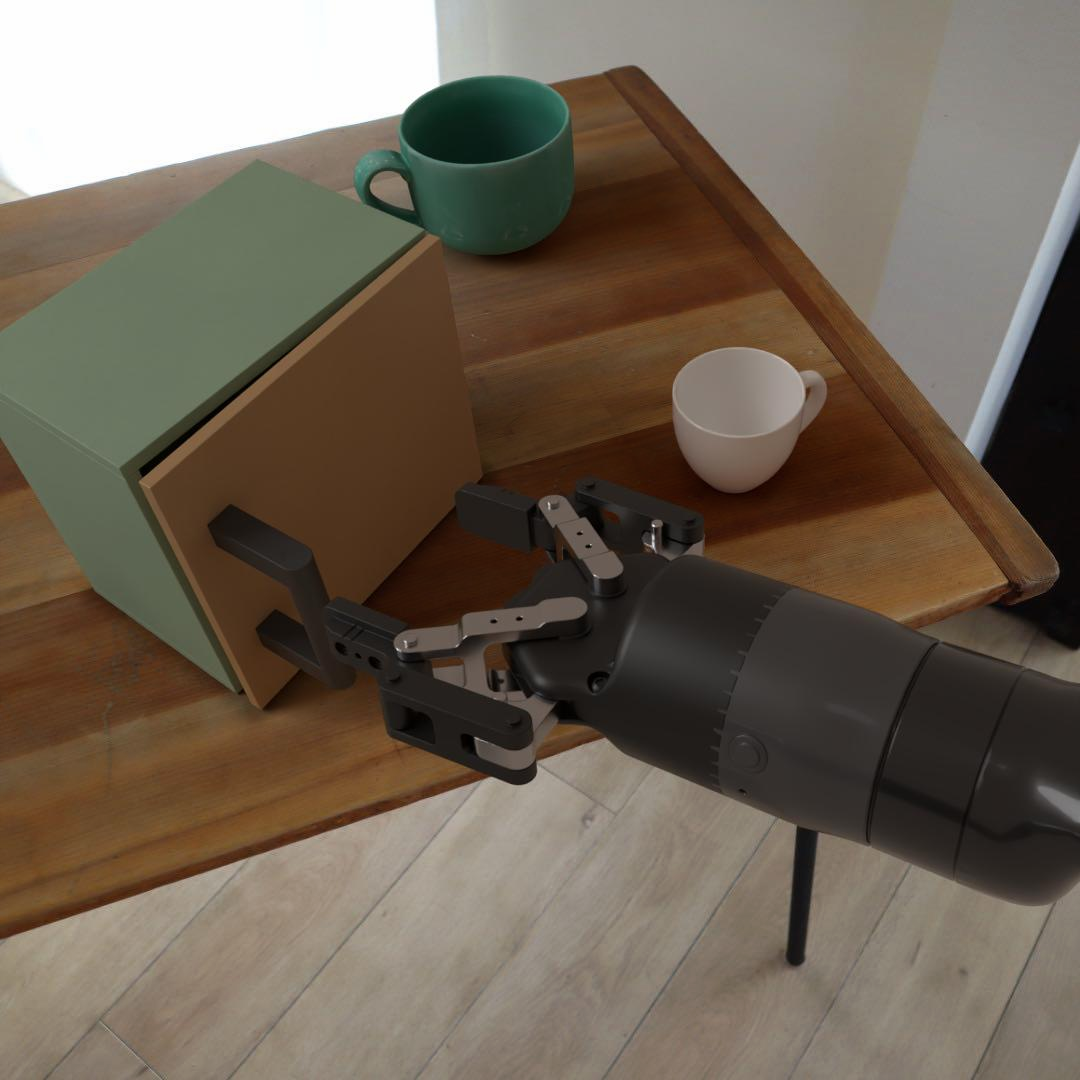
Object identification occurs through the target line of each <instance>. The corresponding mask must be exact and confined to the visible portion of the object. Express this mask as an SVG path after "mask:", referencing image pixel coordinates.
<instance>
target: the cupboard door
mask: <svg viewBox="0 0 1080 1080" xmlns="http://www.w3.org/2000/svg"><path fill="white" fill-rule="evenodd" d="M454 311H455V310H454V306H453V300H452V293H451V289H450V283H449V278H448V272H447V266H446V261H445V256H444V250H443V243H442V242H441V238H440V237H437V236H434V235H432V234H430V233H428V234H426V237H425V238H423V239H422V240H421V241H420V242H419V243H418V244H416V245H415V246H414V247H413V248H412V249H411V250H409V251H408V252H407V253H406V254H405V255H404V256H402V257H401V258H400V259H399V260H398V261H396V262H395V263H394V264H393V265H392V266H391V267H389V268H388V269H387V270H386V271H385V272H384V273H382V274H381V275H380V276H379V277H378V278H377V279H375V280H374V281H373V282H372V283H371V284H370V285H368V286H367V287H366V288H365V289H364V290H363V291H361V292H360V293H359V294H358V295H357V296H356V297H354V298H353V299H352V300H351V301H350V302H348V303H347V304H346V305H345V306H344V307H343V308H341V309H340V310H339V311H338V312H337V313H336V314H334V315H333V316H332V317H331V318H330V319H329V320H327V321H326V322H325V323H324V324H323V325H322V326H320V327H319V328H318V329H317V330H316V331H315V332H313V333H312V334H311V335H310V336H309V337H308V338H306V339H305V340H304V341H303V342H302V343H301V344H299V345H298V346H297V347H296V348H295V349H293V350H292V351H291V352H290V353H289V354H288V355H286V356H285V357H284V358H283V359H282V360H281V361H279V362H278V363H277V364H276V365H275V366H274V367H272V368H271V369H270V370H269V371H268V372H267V373H265V374H264V375H263V376H262V377H261V378H260V379H258V380H257V381H256V382H255V383H254V384H253V385H251V386H250V387H249V388H248V389H247V390H245V391H244V392H243V393H242V394H241V395H240V396H238V397H237V398H236V399H235V400H234V401H233V402H231V403H230V404H229V405H228V406H227V407H226V408H224V409H223V410H222V411H221V412H220V413H219V414H217V415H216V416H215V417H214V418H213V419H212V420H210V421H209V422H208V423H207V424H206V425H205V426H203V427H202V428H201V429H200V430H199V431H197V432H196V433H195V434H194V435H193V436H192V437H190V438H189V439H188V440H187V441H186V442H185V443H183V444H182V445H181V446H180V447H179V448H178V449H176V450H175V451H174V452H173V453H172V454H171V455H169V456H168V457H167V458H166V459H165V460H164V461H162V462H161V463H160V464H159V465H158V466H157V467H155V468H154V469H153V470H152V471H151V472H150V473H148V474H147V475H146V476H145V477H144V478H142V479H141V480H140V481H139V484H140V486H141V488H142V490H143V492H144V494H145V496H146V498H147V500H148V502H149V503H150V505H151V507H152V509H153V511H154V513H155V515H156V517H157V519H158V521H159V523H160V525H161V527H162V529H163V531H164V533H165V535H166V537H167V539H168V541H169V543H170V545H171V547H172V549H173V551H174V553H175V555H176V557H177V558H178V560H179V562H180V564H181V566H182V568H183V570H184V572H185V574H186V576H187V578H188V580H189V582H190V584H191V586H192V588H193V590H194V592H195V594H196V596H197V598H198V600H199V602H200V604H201V606H202V608H203V610H204V612H205V614H206V615H207V617H208V619H209V621H210V623H211V625H212V627H213V629H214V631H215V633H216V635H217V637H218V639H219V641H220V643H221V645H222V647H223V649H224V651H225V653H226V655H227V657H228V659H229V661H230V663H231V665H232V667H233V669H234V670H235V672H236V674H237V676H238V678H239V680H240V682H241V684H242V686H243V690H244V692H245V694H246V696H247V698H248V700H249V702H250V704H251V705H253V706H254V707H256V708H257V709H259V710H260V711H262V710H263V709H264V708H265V707H266V706H267V705H268V704H269V703H270V702H271V700H272V699H273V698H274V697H275V696H276V695H277V694H278V693H279V692H280V691H281V690H282V689H283V688H284V687H285V685H287V683H289V681H291V680H292V679H293V677H294V676H296V674H297V673H298V672H299V671H300V670H301V671H303V672H305V673H306V674H308V675H309V676H310V677H313V678H314V679H316V680H318V681H319V682H321V683H322V684H324V685H326V686H328V687H329V688H330V689H333V690H334V691H344V690H347V689H349V688H351V687H352V686H353V685H354V684H355V682H356V680H357V679H358V678H357V677H358V673H357V670H356V669H357V668H355V667H352V666H351V665H350V664H349V665H348V664H345V663H343V662H341V661H338V660H337V659H336V658H335V657H334V655H333V654H332V653H331V650H330V646H329V642H328V638H327V634H326V630H325V626H324V622H323V617H322V613H321V610H322V608H323V607H324V606H326V605H327V604H328V603H329V602H330V601H331V600H332V599H334V598H335V597H342V598H345V599H347V600H350V601H352V602H355V603H357V604H360V605H363V604H364V602H366V600H367V599H368V598H369V597H370V596H371V595H372V594H373V593H374V592H375V590H377V589H378V588H379V587H380V586H381V584H382V583H384V581H386V579H387V578H389V576H390V575H392V573H393V572H394V571H395V570H396V569H397V568H398V567H399V565H401V564H402V563H403V561H405V559H406V558H407V557H408V556H409V555H410V554H411V553H412V552H413V551H414V550H415V549H416V548H417V547H418V545H420V544H421V542H422V541H423V540H424V539H425V538H426V537H427V536H428V535H429V534H430V533H431V532H432V530H434V529H435V528H436V527H437V526H438V525H439V523H440V522H441V521H442V520H443V519H444V518H445V517H446V516H447V515H448V514H449V513H450V512H451V511H452V510H453V509H454V508H455V507H456V503H455V493H456V491H458V490H459V489H460V488H461V487H462V486H463V485H465V484H466V483H467V482H472V483H476V484H478V482H479V481H480V480H481V479H482V478H483V477H484V474H483V468H482V464H481V463H482V462H481V458H480V451H479V446H478V440H477V434H476V430H475V423H474V418H473V413H472V412H473V411H472V407H471V401H470V396H469V395H470V394H469V390H468V385H467V379H466V373H465V368H464V363H463V357H462V350H461V345H460V340H459V334H458V328H457V323H456V317H455V312H454Z"/></svg>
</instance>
